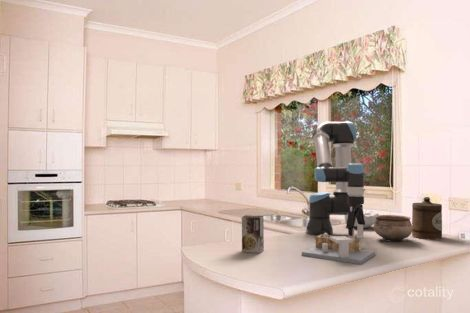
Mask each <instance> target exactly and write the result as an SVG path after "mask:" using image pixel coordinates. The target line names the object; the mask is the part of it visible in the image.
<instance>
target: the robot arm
mask: <svg viewBox="0 0 470 313" xmlns="http://www.w3.org/2000/svg"><path fill="white" fill-rule="evenodd" d="M311 138H312V143H313V144H314V148H315V156H316V164H317V167H315V168H314V180H315V182H318V183H335V189H334V190H333V191H332V193H333V194H331V193H330V192H328V191H325V192H324V191H321V192H315V193H312V194H310V195H309V199H308V200H309V201H308V204H309V205H308V206H309V208H308V212H309V214H308V219H309V220H308V222H307V226H306V229H305V233H307V234H308V235H315V236H319V235H321V234H323V235H324V233H328V235H333V234H334V229H333V226H332V222H331V220H330V218H331V216H345V215H348V218H347V224H345V228H346V229H347V237H348V238H353V239H355V228H354V227H355V226H354V224H355V220H356V218H357V222H358V224H357V228H356V230H357V232H356V235H357V238H356V239H364V228H363V224H364V225H365V220H364V214H363V211H364V207H363V205H364V204H365V196H364V195H365V191H366V189H365V167H364V164H363V163H352V153H351V152H352V150H351V149H352V147H353V146H354V142H355V143H356V141H357V130H356V126H355V124H354V123H353V122H352V121H325V122H321V123H320V124H318V126H317V127H316V128H315V129H314V130H313V133H312V136H311ZM330 143H332V146H333V147H334V149H335V166H334V167H333V162H332V156H331V150H330Z"/></svg>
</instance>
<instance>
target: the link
mask: <svg viewBox="0 0 470 313" xmlns="http://www.w3.org/2000/svg"><path fill="white" fill-rule="evenodd" d="M334 236H335V235H332V234H330V235H328V237H324V235H323V234H321V235H315V246H316V248H322V244H323V243H327V244H328V249H335V250H339V243H336V242H334V241H332V240H330V237H334ZM351 239H353V238H351ZM360 239H361V238H354V239H353V242H351V243H349V251H350V252H358V251H360V249H361V248H360V247H361V246H360Z"/></svg>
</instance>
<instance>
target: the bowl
mask: <svg viewBox="0 0 470 313" xmlns="http://www.w3.org/2000/svg"><path fill="white" fill-rule="evenodd" d="M363 214H364V220H365V225H364V224H363V229H364V228H365V229H366V228H370V227H372V226H374V223H375V220H376V217H375V216H377V215H380V214H379V213H377V212H374V211H366V210H363ZM347 218H348V215H344V224H345V225H347ZM357 224H358V222H357V218H356V220H355V224H354V227H357Z"/></svg>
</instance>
